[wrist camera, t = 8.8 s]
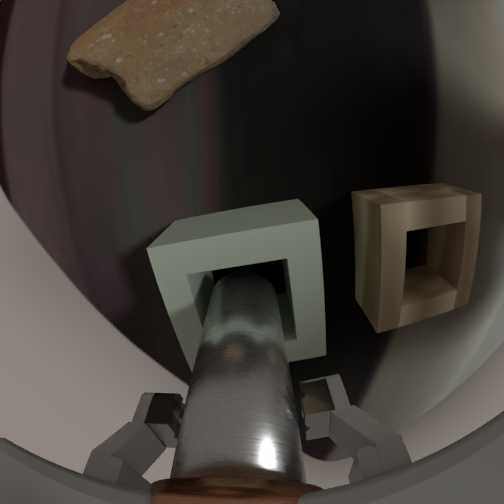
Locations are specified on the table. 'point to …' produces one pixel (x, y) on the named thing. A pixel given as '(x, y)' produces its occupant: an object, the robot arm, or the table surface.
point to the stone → (167, 43)
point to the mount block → (394, 251)
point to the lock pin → (238, 407)
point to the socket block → (238, 254)
